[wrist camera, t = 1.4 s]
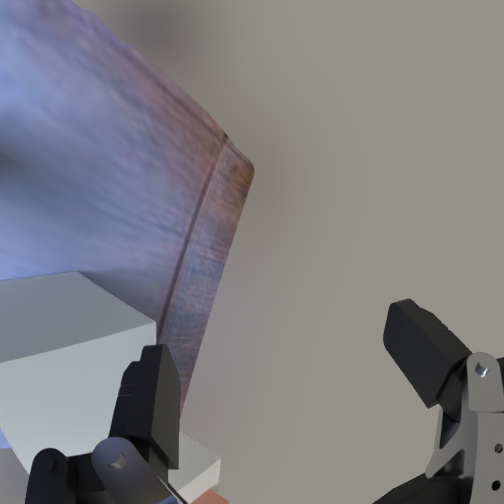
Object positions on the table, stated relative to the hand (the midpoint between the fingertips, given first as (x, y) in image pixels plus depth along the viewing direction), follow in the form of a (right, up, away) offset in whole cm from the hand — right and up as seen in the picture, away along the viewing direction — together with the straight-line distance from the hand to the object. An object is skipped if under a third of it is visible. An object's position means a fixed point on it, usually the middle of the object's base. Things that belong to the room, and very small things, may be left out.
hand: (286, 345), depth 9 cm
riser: (-37, -14, +24) cm, 46 cm away
